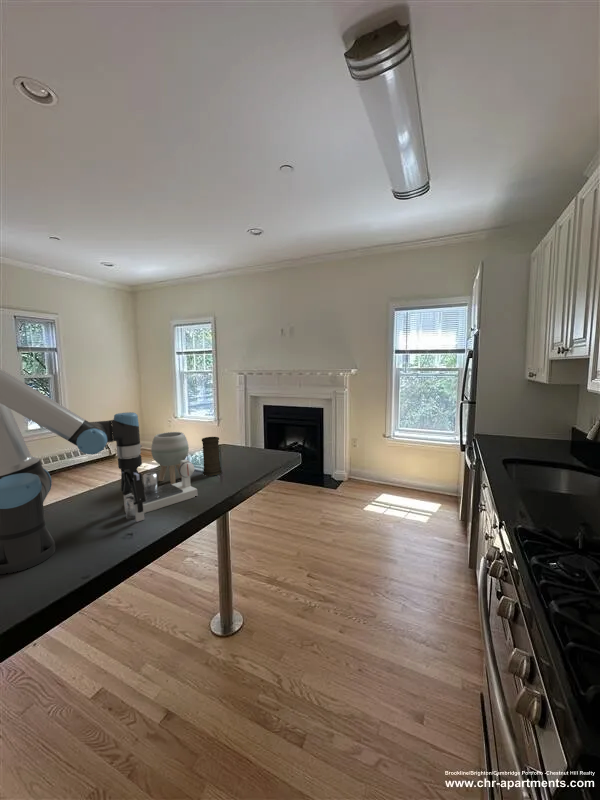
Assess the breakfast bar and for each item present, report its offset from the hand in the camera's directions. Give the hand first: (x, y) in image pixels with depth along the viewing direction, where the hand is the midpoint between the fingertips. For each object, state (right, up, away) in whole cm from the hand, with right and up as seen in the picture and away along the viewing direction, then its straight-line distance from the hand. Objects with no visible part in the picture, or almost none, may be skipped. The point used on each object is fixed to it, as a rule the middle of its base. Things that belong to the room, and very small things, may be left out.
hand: (134, 515), depth 123 cm
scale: (+5, +2, +15) cm, 16 cm away
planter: (0, +4, +37) cm, 37 cm away
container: (+16, +5, +46) cm, 49 cm away
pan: (+3, +4, +13) cm, 14 cm away
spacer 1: (0, 0, 0) cm, 0 cm away
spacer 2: (0, +5, +14) cm, 15 cm away
